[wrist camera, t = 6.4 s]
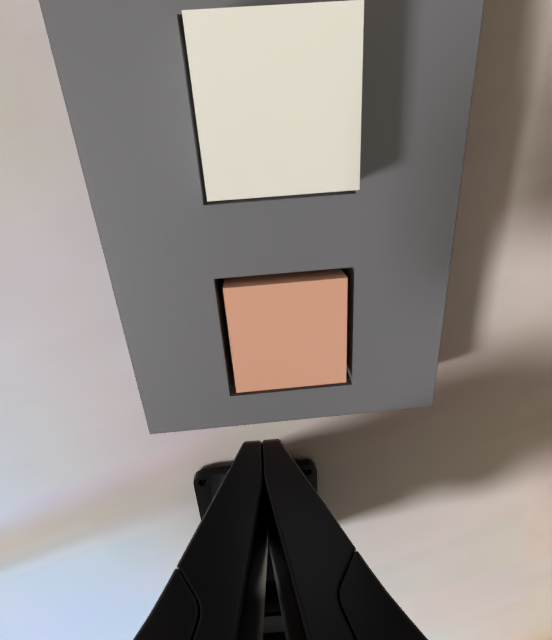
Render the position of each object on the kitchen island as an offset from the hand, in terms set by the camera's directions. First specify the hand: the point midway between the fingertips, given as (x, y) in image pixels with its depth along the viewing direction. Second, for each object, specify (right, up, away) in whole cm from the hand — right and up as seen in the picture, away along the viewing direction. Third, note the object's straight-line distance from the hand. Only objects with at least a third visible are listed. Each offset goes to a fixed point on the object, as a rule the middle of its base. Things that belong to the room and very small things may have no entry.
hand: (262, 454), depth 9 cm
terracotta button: (+1, +3, +8) cm, 8 cm away
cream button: (0, +10, +3) cm, 10 cm away
